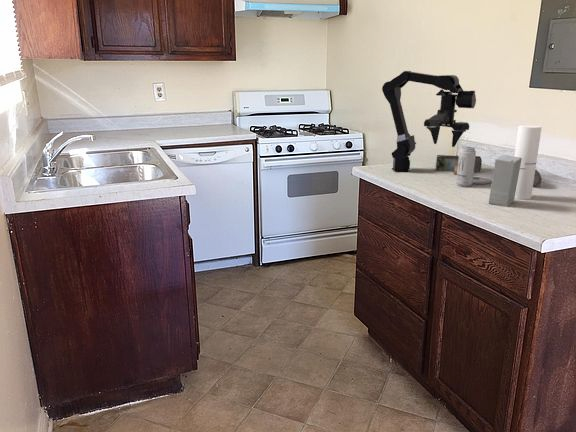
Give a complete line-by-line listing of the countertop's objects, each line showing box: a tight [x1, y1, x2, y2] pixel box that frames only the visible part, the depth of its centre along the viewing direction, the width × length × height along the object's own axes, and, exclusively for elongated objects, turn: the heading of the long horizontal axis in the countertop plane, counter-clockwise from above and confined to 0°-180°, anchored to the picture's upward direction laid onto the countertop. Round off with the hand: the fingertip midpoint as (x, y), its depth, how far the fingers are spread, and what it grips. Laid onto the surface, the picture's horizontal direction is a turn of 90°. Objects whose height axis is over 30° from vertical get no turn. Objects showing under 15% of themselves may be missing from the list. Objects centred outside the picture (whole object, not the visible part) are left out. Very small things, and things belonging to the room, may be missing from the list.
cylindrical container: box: [513, 124, 542, 201], centre depth 169 cm, size 7×7×25 cm
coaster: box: [472, 176, 492, 186], centre depth 195 cm, size 11×11×1 cm
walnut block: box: [453, 165, 458, 176], centre depth 206 cm, size 4×4×4 cm
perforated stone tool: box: [533, 168, 542, 188], centre depth 189 cm, size 15×5×7 cm, turn 1°
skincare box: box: [488, 154, 522, 207], centre depth 163 cm, size 8×7×16 cm
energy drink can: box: [455, 145, 477, 188], centre depth 187 cm, size 6×6×15 cm
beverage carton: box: [435, 154, 483, 173], centre depth 216 cm, size 8×19×7 cm, turn 74°
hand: (444, 145), depth 202 cm, fingers open, 9 cm apart
